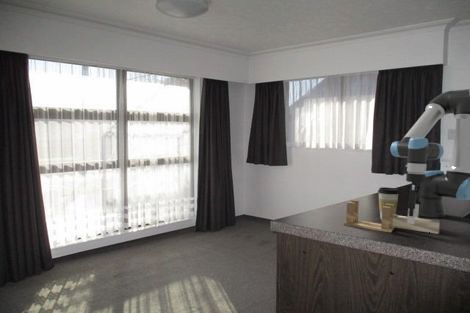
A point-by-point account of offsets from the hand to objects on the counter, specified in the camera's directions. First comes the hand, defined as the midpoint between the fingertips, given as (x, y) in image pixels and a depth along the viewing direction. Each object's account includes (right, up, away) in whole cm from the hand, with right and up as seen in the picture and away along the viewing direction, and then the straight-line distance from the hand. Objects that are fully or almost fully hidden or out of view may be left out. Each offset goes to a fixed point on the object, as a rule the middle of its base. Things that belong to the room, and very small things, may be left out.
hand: (412, 220), depth 161 cm
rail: (0, -4, +1) cm, 4 cm away
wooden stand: (-18, -3, +3) cm, 19 cm away
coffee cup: (-4, -3, +18) cm, 19 cm away
